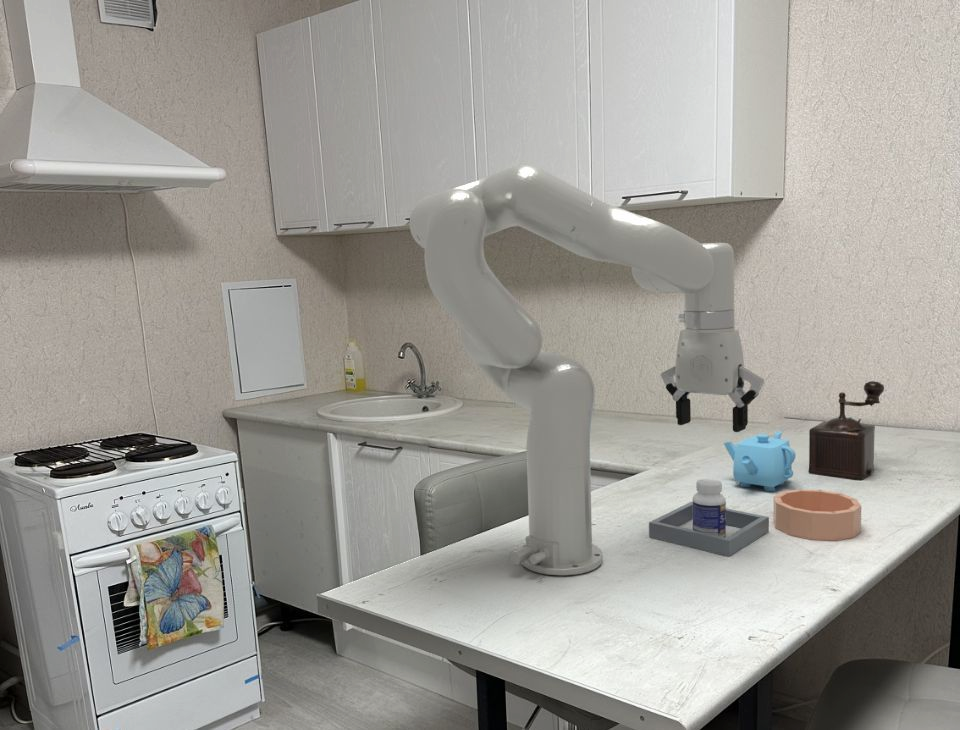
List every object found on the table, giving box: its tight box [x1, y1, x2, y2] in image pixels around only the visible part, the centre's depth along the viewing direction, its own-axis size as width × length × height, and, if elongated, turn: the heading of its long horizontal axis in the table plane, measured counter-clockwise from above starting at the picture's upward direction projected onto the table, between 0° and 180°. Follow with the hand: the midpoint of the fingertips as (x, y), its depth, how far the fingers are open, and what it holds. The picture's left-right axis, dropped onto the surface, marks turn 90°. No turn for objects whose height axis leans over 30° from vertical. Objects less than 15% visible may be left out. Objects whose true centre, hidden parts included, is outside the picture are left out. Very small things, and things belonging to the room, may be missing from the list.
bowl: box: [772, 489, 862, 542], centre depth 131 cm, size 13×13×4 cm
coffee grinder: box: [808, 380, 885, 481], centre depth 164 cm, size 16×11×18 cm
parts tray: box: [648, 501, 770, 558], centre depth 130 cm, size 14×14×2 cm
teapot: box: [723, 430, 796, 492], centre depth 156 cm, size 18×14×10 cm
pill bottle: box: [692, 478, 727, 537], centre depth 129 cm, size 5×5×9 cm
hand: (711, 427), depth 128 cm, fingers open, 9 cm apart
